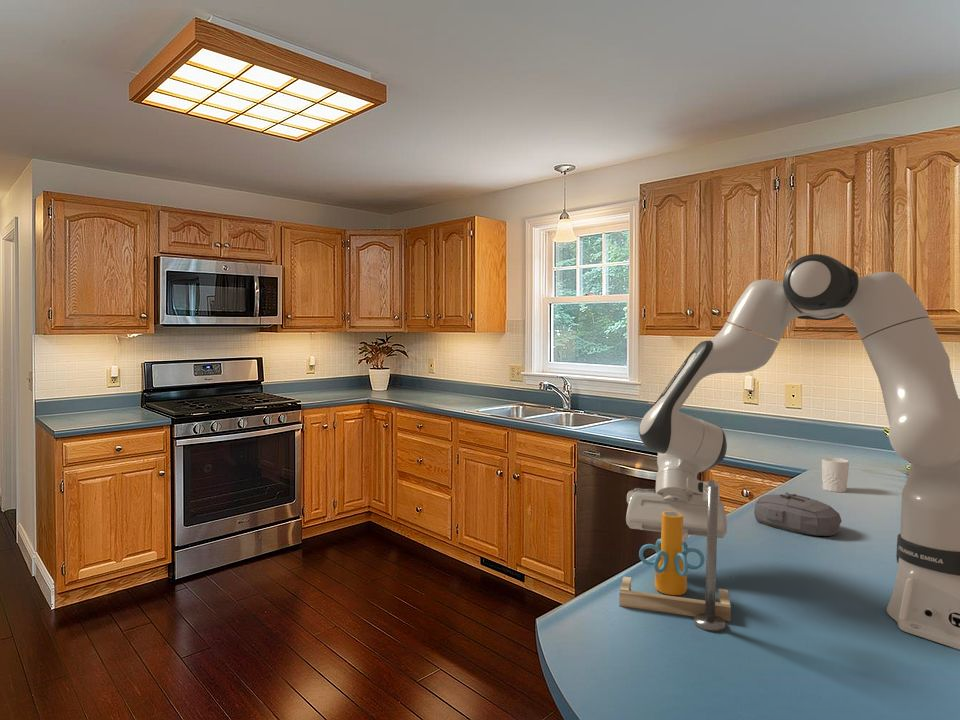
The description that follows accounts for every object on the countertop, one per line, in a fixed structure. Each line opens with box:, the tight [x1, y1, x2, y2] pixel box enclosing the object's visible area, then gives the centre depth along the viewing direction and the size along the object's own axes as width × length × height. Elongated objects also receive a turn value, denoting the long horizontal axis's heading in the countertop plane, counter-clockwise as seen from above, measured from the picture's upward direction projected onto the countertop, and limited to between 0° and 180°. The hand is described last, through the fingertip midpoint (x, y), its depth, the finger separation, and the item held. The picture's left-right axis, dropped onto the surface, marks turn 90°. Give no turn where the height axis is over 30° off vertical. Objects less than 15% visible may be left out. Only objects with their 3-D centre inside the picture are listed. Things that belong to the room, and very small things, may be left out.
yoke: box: [618, 576, 732, 622], centre depth 114 cm, size 8×19×2 cm, turn 72°
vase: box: [638, 511, 705, 596], centre depth 120 cm, size 12×10×15 cm
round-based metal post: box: [693, 479, 726, 633], centre depth 108 cm, size 11×5×24 cm, turn 162°
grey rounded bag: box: [754, 492, 842, 537], centre depth 162 cm, size 15×8×20 cm
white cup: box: [821, 457, 850, 493], centre depth 203 cm, size 8×8×10 cm
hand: (674, 550), depth 126 cm, fingers closed, pressing on vase
